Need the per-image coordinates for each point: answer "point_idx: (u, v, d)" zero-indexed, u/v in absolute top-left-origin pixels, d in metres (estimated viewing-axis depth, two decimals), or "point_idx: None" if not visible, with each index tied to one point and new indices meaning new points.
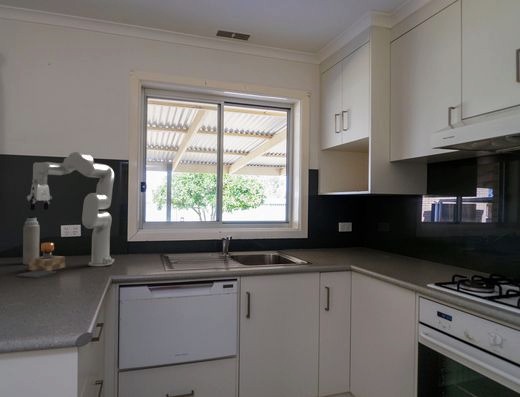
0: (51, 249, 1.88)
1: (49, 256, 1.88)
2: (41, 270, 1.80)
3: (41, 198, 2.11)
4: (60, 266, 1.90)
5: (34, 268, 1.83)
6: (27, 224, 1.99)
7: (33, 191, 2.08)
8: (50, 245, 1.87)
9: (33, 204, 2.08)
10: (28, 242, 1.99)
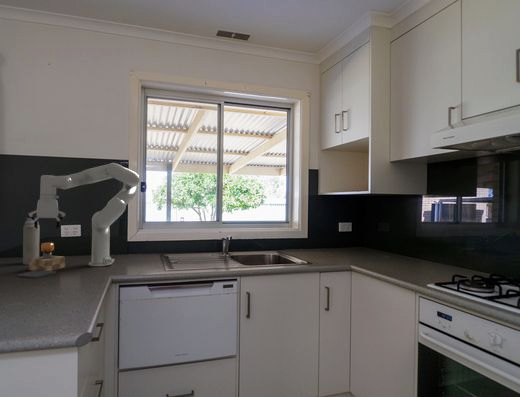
0: (51, 249, 1.88)
1: (49, 256, 1.88)
2: (41, 270, 1.80)
3: None
4: (60, 266, 1.90)
5: (34, 268, 1.83)
6: (27, 224, 1.99)
7: None
8: (50, 245, 1.87)
9: None
10: (28, 242, 1.99)
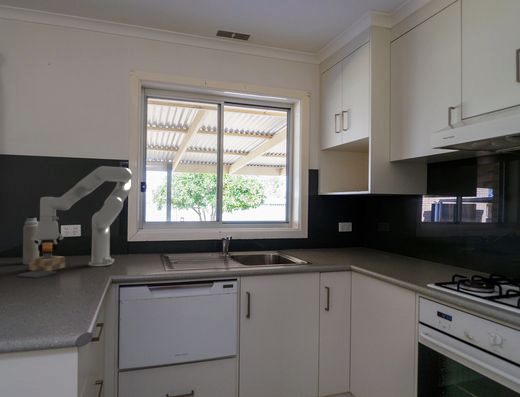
0: (51, 249, 1.88)
1: (49, 256, 1.88)
2: (41, 270, 1.80)
3: None
4: (60, 266, 1.90)
5: (34, 268, 1.83)
6: (27, 224, 1.99)
7: None
8: (50, 245, 1.87)
9: None
10: (28, 242, 1.99)
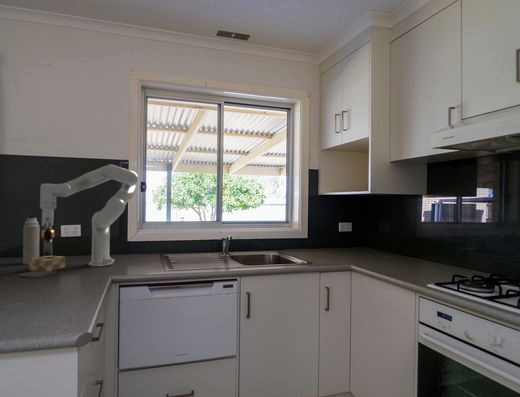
0: None
1: None
2: (41, 270, 1.80)
3: None
4: (60, 266, 1.90)
5: (34, 268, 1.83)
6: (27, 224, 1.99)
7: None
8: None
9: None
10: (28, 242, 1.99)
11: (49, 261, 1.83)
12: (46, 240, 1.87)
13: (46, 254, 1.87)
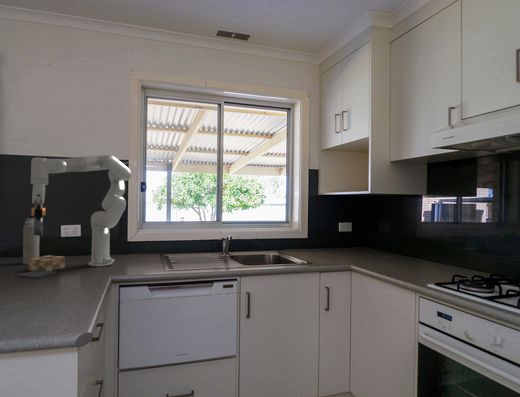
0: None
1: None
2: (41, 270, 1.80)
3: None
4: (60, 266, 1.90)
5: (34, 268, 1.83)
6: (27, 224, 1.99)
7: None
8: None
9: None
10: (28, 242, 1.99)
11: (49, 261, 1.83)
12: (36, 218, 1.74)
13: (36, 233, 1.74)
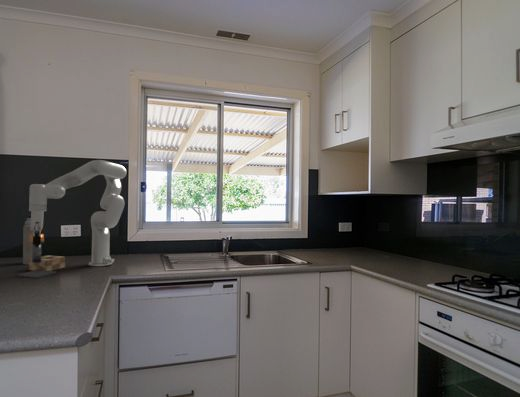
0: None
1: None
2: (41, 270, 1.80)
3: None
4: (60, 266, 1.90)
5: (34, 268, 1.83)
6: (27, 224, 1.99)
7: None
8: None
9: None
10: (28, 242, 1.99)
11: (49, 261, 1.83)
12: (35, 245, 1.72)
13: (34, 260, 1.72)
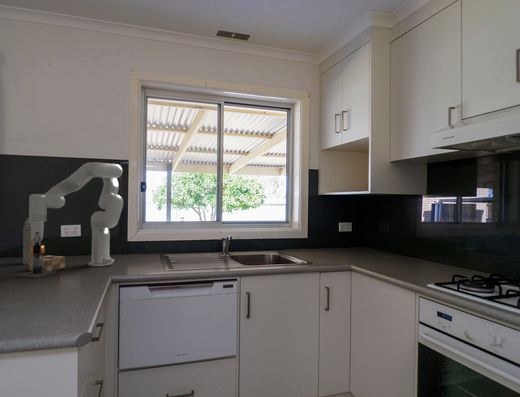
0: None
1: None
2: None
3: None
4: (60, 266, 1.90)
5: None
6: (27, 224, 1.99)
7: None
8: None
9: None
10: (28, 242, 1.99)
11: (49, 261, 1.83)
12: (35, 257, 1.72)
13: (35, 272, 1.72)
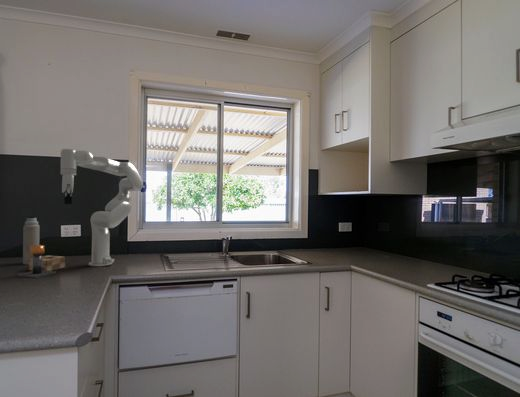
0: None
1: None
2: None
3: None
4: (60, 266, 1.90)
5: None
6: (27, 224, 1.99)
7: None
8: None
9: (66, 197, 1.88)
10: (28, 242, 1.99)
11: (49, 261, 1.83)
12: (35, 257, 1.72)
13: (35, 272, 1.72)
